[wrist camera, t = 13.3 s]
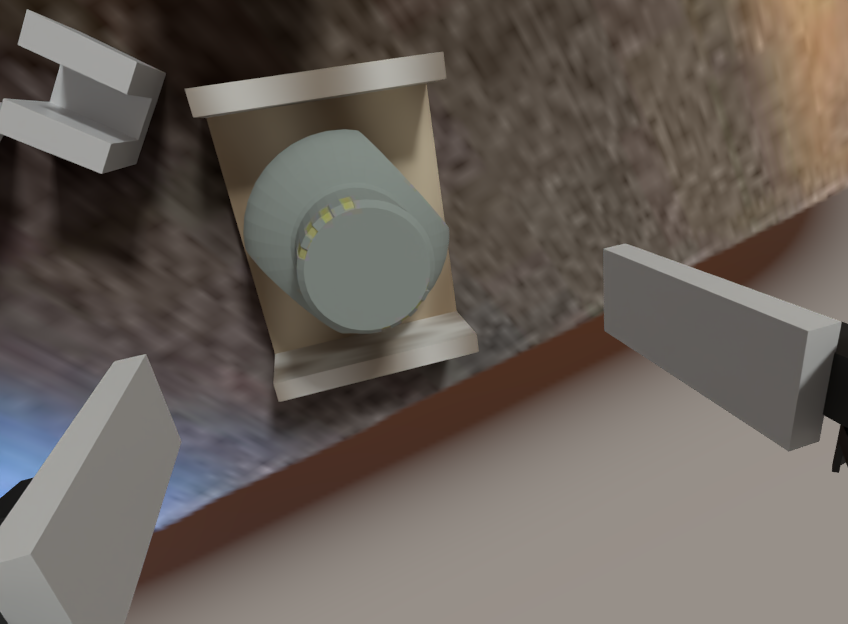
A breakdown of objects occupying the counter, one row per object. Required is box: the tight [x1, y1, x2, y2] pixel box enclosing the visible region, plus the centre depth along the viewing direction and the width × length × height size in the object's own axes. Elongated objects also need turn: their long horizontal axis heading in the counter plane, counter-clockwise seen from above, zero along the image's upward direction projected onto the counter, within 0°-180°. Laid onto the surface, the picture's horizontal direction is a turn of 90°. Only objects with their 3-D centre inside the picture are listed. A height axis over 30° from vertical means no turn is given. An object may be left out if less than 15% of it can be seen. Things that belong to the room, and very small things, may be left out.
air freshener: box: [243, 129, 449, 334], centre depth 26 cm, size 11×8×10 cm
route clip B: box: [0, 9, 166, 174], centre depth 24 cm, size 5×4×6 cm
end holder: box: [185, 52, 479, 402], centre depth 29 cm, size 12×17×5 cm
